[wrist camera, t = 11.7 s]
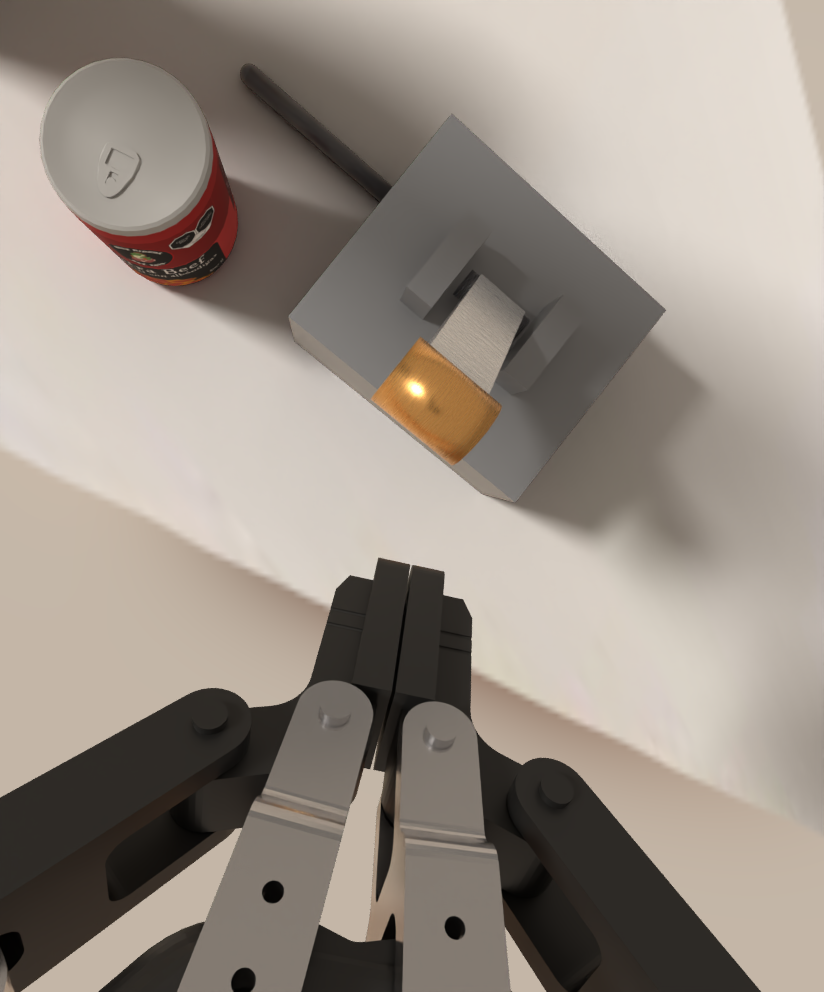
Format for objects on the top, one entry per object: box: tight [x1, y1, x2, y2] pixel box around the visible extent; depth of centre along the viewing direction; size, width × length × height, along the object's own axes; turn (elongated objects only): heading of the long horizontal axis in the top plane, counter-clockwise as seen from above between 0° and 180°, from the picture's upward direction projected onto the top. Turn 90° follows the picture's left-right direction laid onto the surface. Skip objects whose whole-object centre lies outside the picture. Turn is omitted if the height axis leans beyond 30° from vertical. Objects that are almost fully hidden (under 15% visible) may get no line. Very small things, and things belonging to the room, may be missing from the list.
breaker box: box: [240, 64, 666, 502], centre depth 38 cm, size 29×14×11 cm, turn 51°
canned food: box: [39, 58, 238, 286], centre depth 36 cm, size 8×8×11 cm
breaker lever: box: [371, 270, 530, 465], centre depth 30 cm, size 4×3×14 cm
